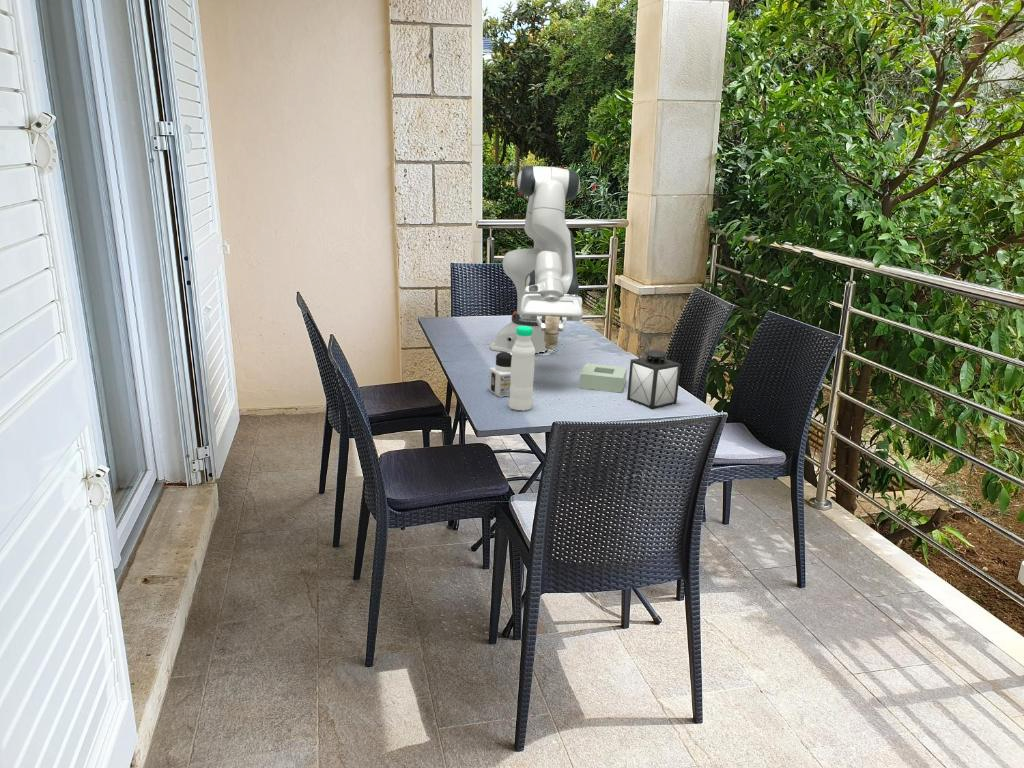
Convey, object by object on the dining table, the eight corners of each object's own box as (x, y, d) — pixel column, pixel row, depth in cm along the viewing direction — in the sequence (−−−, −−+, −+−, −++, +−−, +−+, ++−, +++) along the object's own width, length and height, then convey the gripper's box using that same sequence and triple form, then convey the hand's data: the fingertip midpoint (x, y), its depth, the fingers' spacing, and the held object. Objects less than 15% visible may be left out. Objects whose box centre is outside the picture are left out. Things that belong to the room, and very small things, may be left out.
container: (499, 397, 251) (501, 357, 247) (488, 390, 257) (490, 351, 254) (521, 395, 254) (523, 355, 251) (509, 388, 261) (511, 349, 257)
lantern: (626, 399, 255) (634, 313, 247) (651, 394, 262) (659, 310, 253) (652, 409, 247) (661, 320, 238) (676, 404, 253) (686, 317, 245)
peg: (542, 348, 254) (544, 317, 251) (544, 345, 258) (546, 314, 255) (556, 350, 253) (558, 319, 250) (558, 346, 257) (560, 316, 254)
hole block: (579, 388, 264) (580, 373, 263) (585, 377, 278) (586, 363, 276) (621, 392, 262) (623, 378, 260) (625, 381, 275) (627, 367, 273)
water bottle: (507, 404, 245) (511, 324, 238) (530, 404, 246) (535, 324, 239) (509, 411, 238) (513, 329, 231) (533, 411, 239) (538, 330, 232)
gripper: (580, 300, 263) (582, 336, 257) (518, 297, 261) (519, 334, 255) (583, 289, 258) (586, 326, 251) (520, 286, 256) (521, 323, 250)
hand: (551, 330), depth 253 cm, fingers closed on peg, 4 cm apart
